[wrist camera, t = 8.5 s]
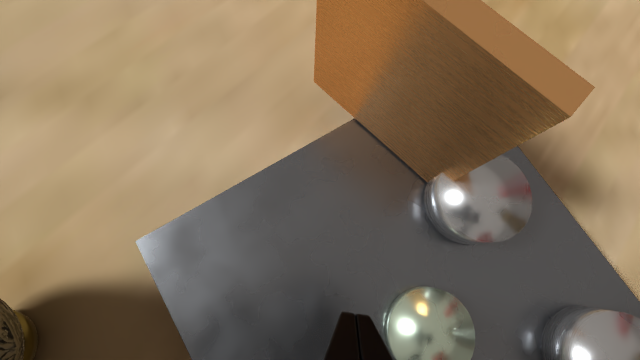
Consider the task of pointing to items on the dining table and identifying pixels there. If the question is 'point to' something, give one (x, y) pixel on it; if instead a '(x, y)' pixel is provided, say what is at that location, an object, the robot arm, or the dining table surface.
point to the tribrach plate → (381, 268)
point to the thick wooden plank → (447, 100)
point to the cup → (16, 335)
